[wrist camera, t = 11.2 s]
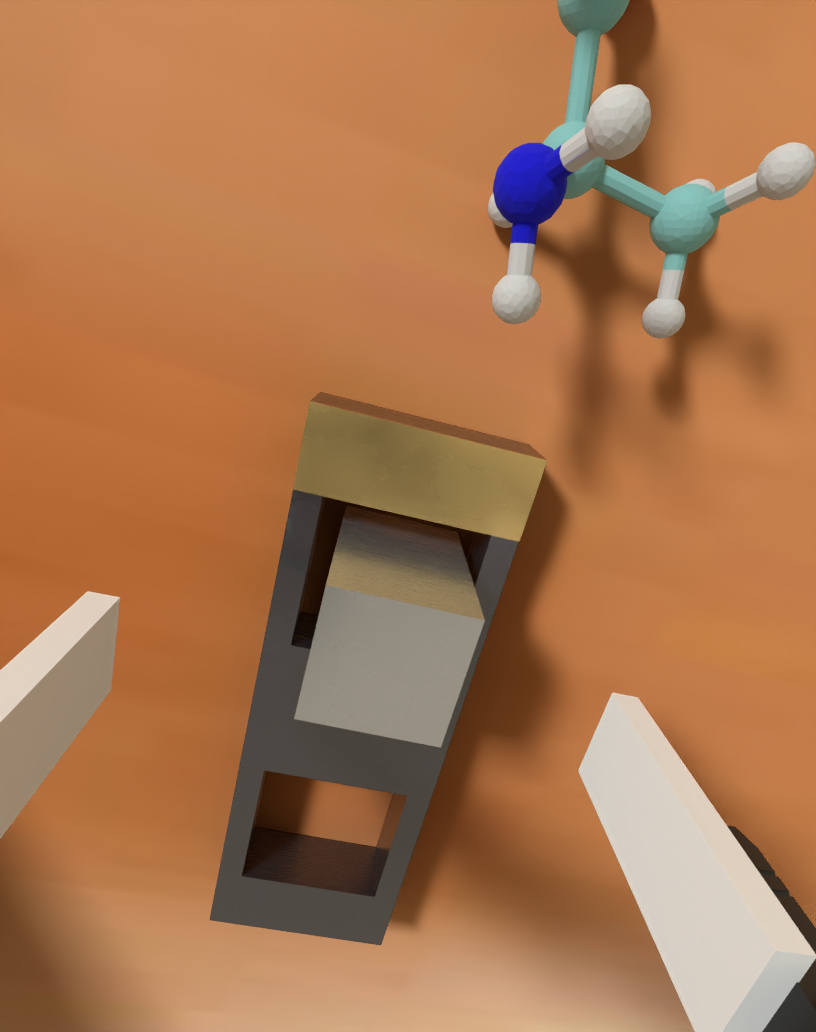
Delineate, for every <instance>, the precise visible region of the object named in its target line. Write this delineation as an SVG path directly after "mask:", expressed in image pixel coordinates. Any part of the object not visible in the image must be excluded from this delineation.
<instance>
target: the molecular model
mask: <svg viewBox="0 0 816 1032" xmlns="http://www.w3.org/2000/svg"><path fill="white" fill-rule="evenodd" d="M631 1H632V0H558V10H559V15H560V18H561V20H562V23H563V25H564V26H565V27H566V28H567V30H568V31H569V32H570V33H571V34H573V35H574V36H576V42H575V50H574V57H573V65H572V72H571V79H570V80H571V81H570V88H569V96H568V103H567V111H566V118H565V124H563V125H561V126H558V127H557V128H556V129H555V130H554V131H552V132H551V134H550V135H549V136H548V137H547V138H546V140H545V141H544V143H543V144H541V143H527V144H524V145H521V146H519V147H517V148H515V149H513V150H512V151H511V152H510V153H509V154H508V155H507V156H506V158H505V159H504V160H503V161H502V163H501V164H500V165H499V167H498V169H497V172H496V176H495V180H494V186H493V194H492V195H491V197H490V200H489V204H488V213H489V216H490V218H491V220H492V222H493V223H495V224H496V225H497V226H500V227H502V228H510V227H512V234H511V244H510V252H509V261H508V270H507V275H506V276H505V277H503V278H502V279H501V280H500V281H499V282H498V284H497V285H496V286H495V288H494V292H493V296H492V305H493V309H494V311H495V313H496V314H497V316H498V317H499V318H500V319H501V320H503V321H504V322H506V323H510V324H519V323H522V322H526V321H527V320H529V319H530V318H531V317H532V316H534V315H535V313H536V312H537V310H538V308H539V305H540V302H541V291H540V287H539V285H538V283H537V282H536V280H535V279H534V278H532V269H533V261H534V253H535V245H536V237H537V229H538V225H539V224H541V223H543V222H544V221H546V220H548V219H549V218H551V217H552V215H553V214H554V213H555V212H556V210H557V209H558V208H559V207H560V205H561V203H562V201H563V199H571V198H575V197H578V196H581V195H582V194H584V193H586V192H587V191H589V190H590V189H591V188H594V189H596V190H598V191H600V192H602V193H604V194H606V195H608V196H610V197H612V198H614V199H616V200H617V201H619V202H621V203H623V204H625V205H627V206H629V207H631V208H633V209H635V210H637V211H639V212H641V213H643V214H645V215H647V216H648V217H650V218H651V219H650V234H651V238H652V240H653V242H654V243H655V245H656V246H657V247H658V248H659V249H660V250H662V251H663V252H665V253H666V256H665V261H664V266H663V270H662V275H661V280H660V285H659V290H658V295H657V299H655V300H654V301H652V302H651V303H650V304H649V305H648V306H647V307H646V309H645V310H644V312H643V316H642V324H643V328H644V330H645V331H646V332H647V333H648V334H649V335H650V336H652V337H655V338H666V337H670V336H672V335H673V334H675V333H676V332H677V331H679V330H680V328H681V327H682V325H683V323H684V321H685V316H686V315H685V309H684V306H683V305H682V303H681V302H680V301H679V300H678V298H679V293H680V288H681V283H682V279H683V274H684V269H685V265H686V260H687V256H688V253H691V252H693V251H695V250H697V249H699V248H700V247H701V246H703V245H704V244H705V243H706V242H707V241H708V240H709V239H710V238H711V237H712V235H713V233H714V232H715V230H716V228H717V226H718V222H719V219H720V216H721V215H723V214H725V213H727V212H729V211H731V210H734V209H736V208H738V207H740V206H742V205H744V204H747V203H749V202H751V201H753V200H755V199H758V198H760V197H762V196H764V197H766V198H768V199H771V200H782V199H786V198H789V197H792V196H794V195H795V194H797V193H798V192H799V191H800V190H802V189H803V188H804V187H805V186H806V185H807V183H808V182H809V180H810V178H811V177H812V175H813V172H814V168H815V158H814V154H813V152H812V151H811V150H810V149H809V148H808V147H807V146H806V145H804V144H801V143H787V144H785V145H782V146H779V147H777V148H776V149H774V150H773V151H772V152H770V153H769V154H768V155H767V156H766V157H765V158H764V160H763V161H762V162H761V164H760V165H759V168H758V170H757V172H756V173H754V174H752V175H750V176H748V177H746V178H744V179H742V180H740V181H738V182H736V183H734V184H732V185H730V186H728V187H725V188H723V189H721V190H719V191H717V192H716V188H715V187H714V186H713V184H712V183H711V182H710V181H708V180H705V179H695V180H692V181H690V182H688V183H686V184H685V185H682V186H679V187H676V188H674V189H672V190H671V191H670V192H668V193H667V194H666V195H663V194H661V193H659V192H657V191H656V190H654V189H652V188H650V187H648V186H646V185H644V184H642V183H640V182H638V181H637V180H634V179H632V178H630V177H628V176H626V175H625V174H623V173H621V172H619V171H617V170H615V169H613V168H611V167H609V166H608V165H606V164H605V159H606V160H615V159H620V158H623V157H625V156H626V155H628V154H630V153H631V152H633V151H635V149H636V148H637V147H638V146H639V144H640V143H641V142H642V141H643V139H644V138H645V136H646V133H647V131H648V129H649V126H650V121H651V109H650V104H649V100H648V99H647V97H646V96H645V94H644V93H643V92H642V90H641V89H640V88H638V87H635V86H633V85H631V84H628V85H616V86H614V87H612V88H609V89H607V90H605V91H604V92H603V93H602V94H601V95H600V96H599V97H598V98H597V99H596V100H595V102H594V103H593V105H592V106H591V108H590V104H591V97H592V90H593V84H594V77H595V70H596V63H597V56H598V49H599V42H600V36H601V35H602V34H604V33H606V32H608V31H609V30H610V29H611V28H613V27H614V26H615V24H616V23H617V22H618V21H619V19H620V18H621V17H622V15H623V14H624V12H625V10H626V8H627V6H628V4H629V2H631Z"/></svg>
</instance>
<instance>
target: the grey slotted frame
mask: <svg viewBox="0 0 816 1032" xmlns="http://www.w3.org/2000/svg"><path fill="white" fill-rule="evenodd" d="M546 463H547V460H546V459H545V458H544V457H543V456H542V455H541V454H539V453H538V452H537V451H536V450H535V449H534V448H532V447H531V446H530V445H529V444H525V443H521V442H517V441H513V440H509V439H505V438H501V437H497V436H493V435H489V434H485V433H481V432H477V431H473V430H469V429H465V428H461V427H457V426H453V425H449V424H445V423H441V422H437V421H433V420H429V419H425V418H421V417H417V416H413V415H410V414H406V413H402V412H398V411H394V410H390V409H386V408H382V407H378V406H374V405H370V404H366V403H362V402H358V401H354V400H350V399H346V398H342V397H338V396H334V395H330V394H326V393H322V392H320V393H319V394H318V395H316V396H315V397H314V398H313V399H312V400H311V401H310V404H309V409H308V414H307V420H306V425H305V430H304V435H303V440H302V445H301V450H300V456H299V461H298V466H297V471H296V476H295V481H294V486H293V493H292V499H291V504H290V509H289V514H288V519H287V524H286V529H285V535H284V540H283V545H282V550H281V555H280V560H279V565H278V571H277V576H276V581H275V586H274V591H273V596H272V601H271V607H270V612H269V617H268V622H267V627H266V632H265V637H264V643H263V648H262V653H261V658H260V663H259V668H258V673H257V679H256V684H255V689H254V694H253V699H252V704H251V709H250V715H249V720H248V725H247V730H246V735H245V740H244V745H243V751H242V756H241V761H240V766H239V771H238V776H237V781H236V787H235V792H234V797H233V802H232V807H231V812H230V817H229V823H228V828H227V833H226V838H225V843H224V848H223V853H222V859H221V864H220V869H219V874H218V879H217V884H216V889H215V895H214V900H213V905H212V910H211V915H210V920H213V921H219V922H226V923H233V924H240V925H247V926H253V927H260V928H267V929H274V930H281V931H287V932H294V933H301V934H308V935H314V936H321V937H328V938H335V939H342V940H348V941H355V942H362V943H369V944H376V945H381V944H382V941H383V938H384V935H385V932H386V929H387V926H388V923H389V920H390V917H391V914H392V912H393V909H394V906H395V903H396V900H397V897H398V894H399V891H400V888H401V885H402V882H403V879H404V876H405V873H406V870H407V868H408V865H409V862H410V859H411V856H412V853H413V850H414V847H415V844H416V841H417V838H418V835H419V832H420V829H421V826H422V824H423V821H424V818H425V815H426V812H427V809H428V806H429V803H430V800H431V797H432V794H433V791H434V788H435V785H436V782H437V780H438V777H439V774H440V771H441V768H442V765H443V762H444V759H445V756H446V753H447V750H448V747H449V744H450V741H451V739H452V736H453V733H454V730H455V727H456V724H457V721H458V718H459V715H460V712H461V709H462V706H463V703H464V700H465V697H466V695H467V692H468V689H469V686H470V683H471V680H472V677H473V674H474V671H475V668H476V665H477V662H478V659H479V656H480V653H481V651H482V648H483V645H484V642H485V639H486V636H487V633H488V630H489V627H490V624H491V621H492V618H493V615H494V612H495V609H496V607H497V604H498V601H499V598H500V595H501V592H502V589H503V586H504V583H505V580H506V577H507V574H508V571H509V568H510V566H511V563H512V560H513V557H514V554H515V551H516V548H517V545H518V542H520V539H521V536H522V533H523V530H524V527H525V524H526V521H527V519H528V516H529V513H530V510H531V507H532V504H533V501H534V498H535V495H536V492H537V489H538V486H539V483H540V481H541V478H542V475H543V472H544V469H545V466H546ZM326 497H328V498H332V499H336V500H341V501H345V502H349V503H354V504H358V505H362V506H367V507H371V508H375V509H380V510H384V511H388V512H393V513H397V514H401V515H405V516H410V517H414V518H418V519H423V520H427V521H431V522H436V523H440V524H444V525H449V526H453V527H457V528H462V529H466V530H470V531H475V533H474V536H473V539H472V542H471V545H470V549H469V552H468V555H467V558H466V562H467V565H468V568H469V571H470V574H471V578H472V581H473V584H474V587H475V590H476V594H477V597H478V600H479V603H480V606H481V610H482V613H483V616H484V619H485V621H484V624H483V627H482V630H481V633H480V636H479V639H478V642H477V645H476V647H475V650H474V653H473V656H472V659H471V662H470V665H469V668H468V670H467V673H466V676H465V679H464V682H463V685H462V688H461V691H460V694H459V696H458V699H457V702H456V705H455V708H454V711H453V714H452V717H451V720H450V722H449V725H448V728H447V731H446V734H445V737H444V740H443V743H442V746H441V748H440V747H435V746H430V745H425V744H420V743H414V742H409V741H404V740H399V739H394V738H389V737H384V736H379V735H373V734H368V733H363V732H358V731H353V730H348V729H343V728H337V727H332V726H327V725H322V724H317V723H312V722H307V721H302V720H296V719H294V717H295V713H296V709H297V705H298V700H299V696H300V692H301V688H302V683H303V679H304V675H305V671H306V667H307V662H308V658H309V654H310V650H311V645H312V641H313V637H314V633H315V629H316V624H317V620H318V616H316V615H312V614H307V613H302V607H303V602H304V598H305V593H306V588H307V584H308V579H309V574H310V570H311V565H312V560H313V556H314V551H315V547H316V542H317V537H318V533H319V528H320V523H321V519H322V514H323V509H324V505H325V500H326ZM267 771H270V772H276V773H282V774H287V775H293V776H298V777H304V778H310V779H315V780H321V781H327V782H332V783H338V784H344V785H349V786H355V787H361V788H366V789H372V790H378V791H383V792H389V793H393V796H392V799H391V802H390V805H389V808H388V812H387V815H386V818H385V821H384V824H383V828H382V831H381V834H380V837H379V840H378V844H377V847H371V846H364V845H358V844H352V843H346V842H340V841H334V840H328V839H322V838H316V837H310V836H304V835H298V834H292V833H286V832H280V831H274V830H268V829H262V828H256V827H255V825H256V821H257V816H258V811H259V807H260V802H261V797H262V793H263V788H264V783H265V779H266V774H267Z"/></svg>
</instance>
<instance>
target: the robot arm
mask: <svg viewBox="0 0 816 1032" xmlns="http://www.w3.org/2000/svg"><path fill="white" fill-rule="evenodd" d="M119 604H120V597H115V596H110V595H105V594H99V593H94V592H89V591H87V592H86V593H85V594H84V595H83V596H82V597H81V598H80V599H79V600H77V601H76V602H75V603H74V604H73V605H72V606H71V607H70V608H69V609H68V610H66V611H65V612H64V613H63V614H62V615H61V616H60V617H59V618H58V619H56V620H55V621H54V622H53V623H52V624H51V625H50V626H49V627H48V628H47V629H45V630H44V631H43V632H42V633H41V634H40V635H39V636H38V637H37V638H36V639H34V640H33V641H32V642H31V643H30V644H29V645H28V646H27V647H26V648H24V649H23V650H22V651H21V652H20V653H19V654H18V655H17V656H16V657H15V658H13V659H12V660H11V661H10V662H9V663H8V664H7V665H6V666H5V667H3V668H2V669H1V670H0V839H1V838H2V836H3V835H4V834H5V832H6V831H7V829H8V828H9V827H10V825H11V824H12V823H13V821H14V820H15V819H16V817H17V816H18V815H19V813H20V812H21V811H22V809H23V808H24V807H25V805H26V804H27V803H28V801H29V800H30V798H31V797H32V796H33V794H34V793H35V792H36V790H37V789H38V788H39V786H40V785H41V784H42V782H43V781H44V780H45V778H46V777H47V776H48V774H49V773H50V771H51V770H52V769H53V767H54V766H55V765H56V763H57V762H58V761H59V759H60V758H61V757H62V755H63V754H64V753H65V751H66V750H67V749H68V747H69V746H70V744H71V743H72V742H73V740H74V739H75V738H76V736H77V735H78V734H79V732H80V731H81V730H82V728H83V727H84V726H85V724H86V723H87V722H88V720H89V719H90V717H91V716H92V715H93V713H94V712H95V711H96V709H97V708H98V707H99V705H100V704H101V703H102V701H103V700H104V699H105V697H106V696H107V695H108V693H109V692H110V691H111V684H112V674H113V664H114V654H115V644H116V634H117V624H118V614H119ZM578 771H579V773H580V776H581V778H582V780H583V782H584V785H585V787H586V789H587V791H588V794H589V796H590V798H591V800H592V803H593V805H594V807H595V809H596V812H597V814H598V816H599V818H600V821H601V823H602V825H603V827H604V829H605V832H606V834H607V836H608V838H609V841H610V843H611V845H612V847H613V850H614V852H615V854H616V856H617V859H618V861H619V863H620V865H621V868H622V870H623V872H624V874H625V877H626V879H627V881H628V883H629V886H630V888H631V890H632V892H633V895H634V897H635V899H636V901H637V904H638V906H639V908H640V910H641V913H642V915H643V917H644V919H645V922H646V924H647V926H648V928H649V931H650V933H651V935H652V937H653V940H654V942H655V944H656V946H657V948H658V951H659V953H660V955H661V957H662V960H663V962H664V964H665V966H666V969H667V971H668V973H669V975H670V978H671V980H672V982H673V984H674V987H675V989H676V991H677V993H678V996H679V998H680V1000H681V1002H682V1005H683V1007H684V1009H685V1011H686V1014H687V1016H688V1018H689V1020H690V1023H691V1025H692V1027H693V1029H694V1032H816V928H815V927H814V925H813V924H812V923H811V921H810V920H809V918H808V917H807V916H806V914H805V913H804V911H803V910H802V909H801V907H800V906H799V905H798V903H797V902H796V900H795V899H794V898H793V897H791V896H790V895H789V891H788V889H787V888H786V887H785V885H784V884H783V882H782V881H781V880H780V878H779V877H776V876H775V871H774V870H773V869H772V867H771V866H770V864H769V863H768V862H767V860H766V859H765V858H764V856H763V855H762V853H761V852H760V851H759V849H758V848H757V847H756V846H755V845H754V844H753V843H752V842H751V841H750V840H748V839H747V838H746V837H745V836H744V835H743V834H742V833H741V832H740V831H739V830H738V829H737V828H736V827H733V826H727V825H726V824H725V822H724V821H723V820H722V818H721V817H720V815H719V814H718V812H717V811H716V810H715V808H714V807H713V805H712V804H711V802H710V801H709V799H708V798H707V797H706V795H705V794H704V792H703V791H702V789H701V788H700V786H699V785H698V784H697V782H696V781H695V779H694V778H693V776H692V775H691V773H690V772H689V771H688V769H687V768H686V766H685V765H684V763H683V762H682V760H681V759H680V758H679V756H678V755H677V753H676V752H675V750H674V749H673V748H672V746H671V745H670V743H669V742H668V740H667V739H666V737H665V736H664V735H663V733H662V732H661V730H660V729H659V727H658V726H657V724H656V723H655V722H654V720H653V719H652V717H651V716H650V714H649V713H648V711H647V710H646V709H645V707H644V706H643V704H642V703H641V701H640V700H639V698H638V697H633V696H627V695H622V694H617V693H612V694H611V697H610V699H609V701H608V704H607V706H606V708H605V711H604V713H603V715H602V717H601V720H600V722H599V724H598V727H597V729H596V731H595V733H594V736H593V738H592V740H591V743H590V745H589V747H588V750H587V752H586V754H585V756H584V759H583V761H582V763H581V766H580V768H579V770H578Z"/></svg>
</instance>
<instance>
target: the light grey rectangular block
mask: <svg viewBox="0 0 816 1032" xmlns="http://www.w3.org/2000/svg"><path fill="white" fill-rule="evenodd" d="M484 621H485V619H484V616H483V613H482V610H481V606H480V603H479V600H478V597H477V594H476V590H475V587H474V584H473V581H472V578H471V574H470V571H469V568H468V565H467V562H466V558H465V555H464V552H463V549H462V546H461V542H460V539H459V536H458V533H457V532H456V531H452V530H448V529H444V528H440V527H435V526H431V525H427V524H423V523H419V522H415V521H410V520H406V519H402V518H398V517H394V516H389V515H385V514H381V513H377V512H373V511H369V510H364V509H360V508H356V507H352V506H348V505H346V509H345V513H344V517H343V520H342V524H341V528H340V532H339V536H338V540H337V544H336V548H335V551H334V555H333V559H332V563H331V567H330V571H329V575H328V578H327V582H326V586H325V591H324V595H323V599H322V603H321V607H320V612H319V616H318V620H317V624H316V629H315V633H314V637H313V641H312V645H311V650H310V654H309V658H308V662H307V667H306V671H305V675H304V679H303V683H302V688H301V692H300V696H299V700H298V705H297V709H296V713H295V717H294V719H296V720H302V721H307V722H312V723H317V724H322V725H327V726H332V727H337V728H343V729H348V730H353V731H358V732H363V733H368V734H373V735H379V736H384V737H389V738H394V739H399V740H404V741H409V742H414V743H420V744H425V745H430V746H435V747H440V748H441V746H442V743H443V740H444V737H445V734H446V731H447V728H448V725H449V722H450V720H451V717H452V714H453V711H454V708H455V705H456V702H457V699H458V696H459V694H460V691H461V688H462V685H463V682H464V679H465V676H466V673H467V670H468V668H469V665H470V662H471V659H472V656H473V653H474V650H475V647H476V645H477V642H478V639H479V636H480V633H481V630H482V627H483V624H484Z"/></svg>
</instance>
